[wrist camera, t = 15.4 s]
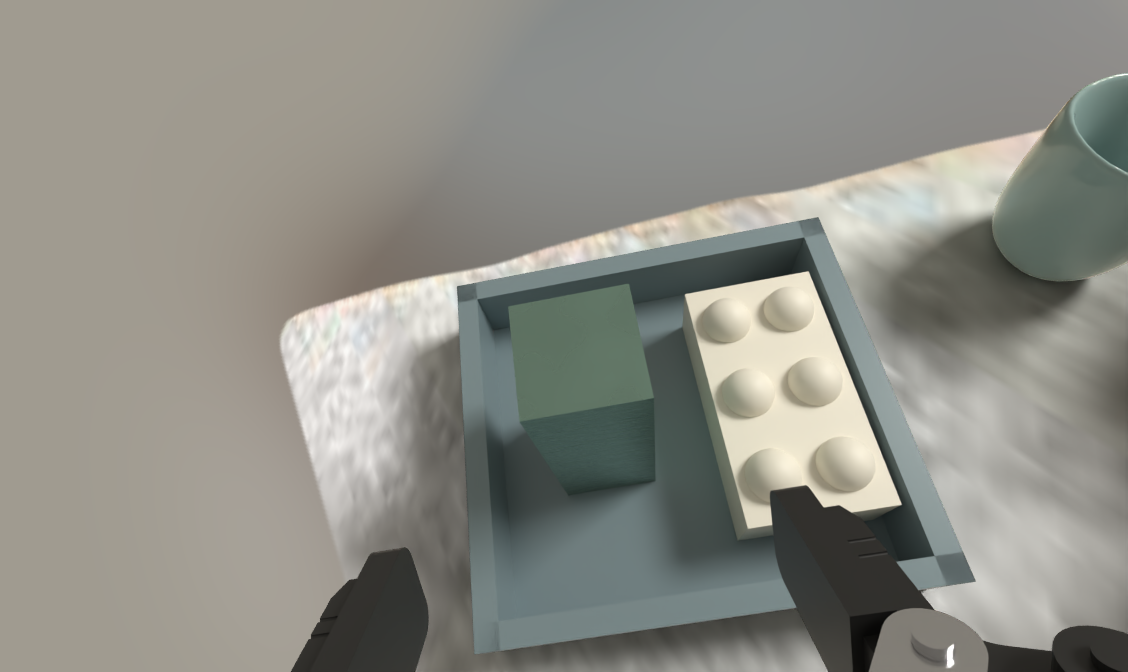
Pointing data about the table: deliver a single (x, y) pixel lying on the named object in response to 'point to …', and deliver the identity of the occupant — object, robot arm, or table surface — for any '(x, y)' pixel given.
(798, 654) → the table surface
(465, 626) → the table surface
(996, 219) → the cup
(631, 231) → the table surface
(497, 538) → the tray
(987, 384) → the table surface
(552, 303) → the tea tin
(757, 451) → the egg carton
